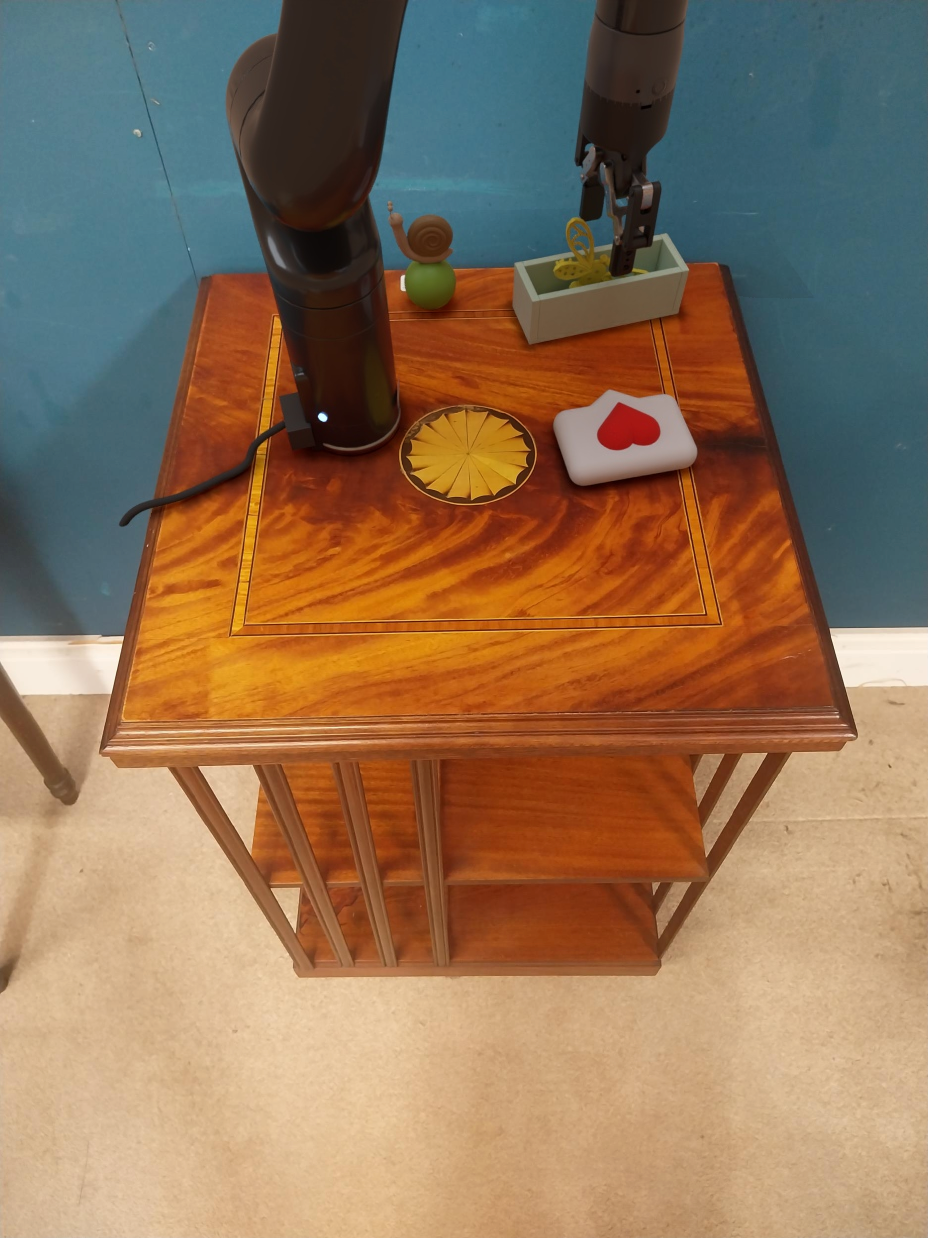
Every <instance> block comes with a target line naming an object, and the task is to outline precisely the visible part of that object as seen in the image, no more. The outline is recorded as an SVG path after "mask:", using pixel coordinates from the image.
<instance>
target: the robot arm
mask: <svg viewBox="0 0 928 1238" xmlns="http://www.w3.org/2000/svg"><path fill="white" fill-rule="evenodd" d="M409 1H410V0H281V9H280V15H279V23H278V27H277V32H274V33H270V34H268V35H265V36H262V37H261V38H259V39H257V40H255V41H254V42H252V43H251V44H250V45H249V46H248V47H246V49H245V50H244V51H243V52H242V53H241V54H240V55H239V57H238V59H237V60H236V62H235V63H234V65H233V67H232V69H231V71H230V73H229V77H228V79H227V84H226V89H225V99H224V100H225V101H224V104H225V115H226V122H227V127H228V131H229V135H230V139H231V143H232V147H233V151H234V155H235V159H236V163H237V166H238V170H239V174H240V178H241V181H242V185H243V189H244V192H245V196H246V201H247V204H248V209H249V211H250V215H251V219H252V223H253V227H254V230H255V234H256V238H257V241H258V244H259V247H260V250H261V254H262V257H263V258H262V259H263V261H264V265H265V268H266V271H267V275H268V279H269V282H270V285H271V289H272V293H273V294H272V295H273V297H274V302H275V305H276V310H277V313H278V318H279V322H280V327H281V329H282V333H283V339H284V342H285V346H286V350H287V354H288V357H289V358H288V359H289V363H290V367H291V370H292V375H293V378H294V383H295V387H296V391H297V392H296V391H295V392H292V393H291V392H290V393H286V394H282V395H279V396H278V400H279V404H280V408H281V412H282V417H283V420H281V421H280V422H278V423H276V424H275V425H273V426H271V427H270V428H268V429H266V430H264V431H263V432H262V433H261V434H259V435H257V437H256V438H255V439H253V440H252V442H251V443H250V444H249V447H248V448H247V451H246V456H245V458H244V460H243V461H242V462H240V464H238V465H237V466H235V467H233V468H231V469H229V470H227V471H224V472H222V473H219V474H217V475H215V476H213V477H211V478H209V479H207V480H205V481H203V482H200V483H198V484H196V485H194V486H192V487H190V488H187V489H185V490H183V491H180V492H178V493H175V494H171V495H167V496H163V497H157V498H154V499H149V500H147V501H144V502H141V503H138V504H135V506H132V507H131V508H130V509H129V510H128V511H126V512H125V514H123V516H122V518H121V519H120V521H119V523H118V526H119V527H121V528H123V527H126V526H128V525H129V524H130V523H131V521H132V520H133V519H134V518H135V517H137V515H139V514H141V513H142V512H145V511H148V510H151V509H154V508H158V507H162V506H167V505H171V504H175V503H178V502H181V501H184V500H186V499H189V498H191V497H194V496H196V495H198V494H200V493H202V492H204V491H207V490H209V489H212V488H213V487H214V486H217V485H219V484H221V483H223V482H225V481H227V480H230V479H233V478H235V477H236V476H239V475H241V474H242V473H244V472H245V471H246V470H247V469H248V468H249V467H250V466H251V465H252V463H253V462H254V459H255V456H256V453H257V450H258V448H259V447H260V446H261V445H262V444H263V443H264V442H265V441H267V440H269V439H270V438H271V437H273V436H275V435H277V434H278V433H281V431H283V430H286V434H287V438H288V441H289V444H290V449H291V451H296V450H302V449H306V448H311V450H312V451H314V452H319V451H326V452H329V453H332V454H336V455H341V456H342V455H343V456H358V455H364V454H367V453H371V452H373V451H375V450H378V449H379V448H381V447H384V445H386V444H387V443H388V442H390V440H391V439H392V438H393V437H395V435H396V434H397V432H398V430H399V428H400V425H401V421H402V410H401V403H400V379H399V376H397V373H396V366H395V356H394V346H393V338H392V329H391V328H392V327H391V319H390V312H389V311H390V310H389V303H388V301H389V300H388V293H387V283H386V274H385V266H384V257H383V256H384V255H383V247H382V240H381V236H380V231H379V229H378V225H377V222H376V217H375V214H374V210H373V206H372V202H371V199H370V193H371V192H372V189H373V188H374V185H375V183H376V180H377V177H378V175H379V172H380V168H381V167H380V166H381V162H382V157H383V152H384V145H385V140H386V132H387V127H388V117H389V112H390V103H391V96H392V91H393V85H394V79H395V78H394V77H395V73H396V72H395V71H396V65H397V60H398V59H397V58H398V53H399V47H400V43H401V36H402V32H403V26H404V22H405V17H406V12H407V9H408V5H409ZM689 1H690V0H595V6H594V14H593V19H592V23H591V28H590V31H589V36H588V42H587V48H586V49H587V50H586V58H585V70H584V77H583V86H582V87H583V89H582V90H583V91H582V95H581V96H582V97H581V107H580V114H579V120H578V128H577V136H576V145H575V150H574V158H573V159H574V164H575V166H576V167H577V168H578V167H581V170H580V172H579V179H580V180H579V181H580V182H581V184H582V187H581V195H580V204H579V213H578V217H579V218H581V219H583V220H584V221H585V222H586V223H588V222H591V221H592V222H593V221H598V220H599V219H601V217H602V216H603V213H604V212H603V211H604V204H605V209H606V210H605V211H606V215H607V217H608V218H610V219H611V220H612V230H613V240H612V244H613V245H612V251H611V258H610V264H609V272H610V274H611V276H613V277H617V276H622V275H627V274H629V273H631V272H632V270H633V265H634V260H635V255H636V250H637V249H640V248H647V247H651V246H652V243H653V237H654V236H655V231H656V227H657V225H656V224H657V221H658V220H657V219H658V214H659V208H660V202H661V197H662V188H663V187H662V183H661V181H659V180H656V181H650V180H649V179H648V178H647V174H648V165H647V163H648V162H647V161H648V154H649V152H650V151H651V150H652V148H654V147H655V146H656V145H657V144H658V143H660V141H662V139H663V138H664V137H665V135H666V133H667V129H668V125H669V119H670V115H671V110H672V105H673V100H674V96H675V95H674V94H675V90H676V85H677V80H678V76H679V70H680V65H681V61H682V60H681V59H682V54H683V49H684V39H685V26H686V18H687V13H688V7H689ZM590 144H592V145H591V146H590V148H589V149H588V150H586V147H587V146H588V145H590ZM623 199H625V201H626V203H627V205H622V206H619V205H618V204H617V201H618V200H623ZM624 216H625V219H624V223H623V217H624Z"/></svg>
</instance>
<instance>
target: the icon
mask: <svg viewBox="0 0 928 1238" xmlns="http://www.w3.org/2000/svg"><path fill="white" fill-rule="evenodd" d="M552 428H553V432H554V435H555V438H556V441H557V445H558V447H559V449H560V452H561V455H562V458H563V461H564V465H565V468H566V470H567V474H568V476H569V478H570V480H571V481H572V482H573V483H574V484H575V485H577V486H581V487H584V486H591V485H597V484H603V483H608V482H613V481H619V480H620V481H621V480H626V479H632V478H637V477H642V476H643V477H644V476H648V475H653V474H659V473H666V472H672V471H677V470H683V469H687V468H689V467H691V466H692V465H693V464H694V463H695V461H696V460H697V458H698V457H697V456H698V446H697V445H696V443H695V441H694V438H693V436H692V434H691V431H690V429H689V427H688V425H687V423H686V420H685V418H684V416H683V414H682V411H681V409H680V407H679V404H678V402H677V400H676V399H675V397H673V396H672V395H670V394H666V393H661V394H655V395H648V396H642V397H635V396H633V395H629V394H626V393H623V392H619V391H617V390H613V389H607V390H606V391H605V392H604V393H602V395H600V396H599V397H598V398H597V399H596V400H594V402H592V404H590V405H588V406H582V407H577V408H571V409H565V410H562V411H560V412H558V413H557V414H556V416H555V418H554V420H553V424H552Z"/></svg>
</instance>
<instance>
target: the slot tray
mask: <svg viewBox="0 0 928 1238" xmlns="http://www.w3.org/2000/svg"><path fill="white" fill-rule="evenodd" d="M612 245H613V243H610V244H604V245H599V246H594V260H600V256H601V255H603V254H605V255H607V256H608V258H611V251H612ZM577 251H578V252H579V253H580V254H581V255H582V256H583V257H585V258H586V254H585V251H584V250H583V249H579V250H577ZM587 251H588V254H589V248H587ZM562 258H563V259H564V260H565V262H566V261H569V258H572V261H574V262H577V261H578V260H577V258H576V257H575V255H574V254H573V252H572V251H570V252H569V251H568V252H564V253H558V254H553V255H549V256H544V257H538V258H533V259H528V260H523V261H517V262H514V264H513V265H514V267H513V288H512V309H513V311H514V313H515V315H516V317H517V320H518V323H519V324H520V327H521V330H522V331H523V333H524V335H525V338H526V340H527V342H528V345H534V344H539V343H544V342H548V341H554V340H558V339H563V338H567V337H573V336H578V335H582V334H587V333H592V332H596V331H601V330H606V329H611V328H615V327H619V326H626V325H629V324H634V323H640V322H643V321H649V320H653V319H658V318H663V317H668V316H669V317H670V316H673V315H678V314H679V312H680V307H681V303H682V300H683V296H684V292H685V290H686V289H685V288H686V284H687V280H688V277H689V273H690V269H689V267H688V265H687V263H686V262H685V261H684V259H683V257H682V256H681V254H680V252H679V251H678V249H677V247H676V245H675V244H674V242H673V241H672V239H671V237H670V236H669V234H668V233H661V234H656V235H655V234H654V237H653V243H652V246H651V247H647V248H640V249H637V250H636V255H635V260H634V265H633V268H634V269H640V270H646V271H648V272H649V273H645V274H639V275H635V276H634V273H629V274H627V275H625V276H627V277H625V278H622V277H618V276H617V277H613V276H612V278H614V279H615V280H610V281H605V282H600V283H598V282H597V283H595V284H590V285H586V286H581V287H576V288H571V289H569V286H570V284H571V283H572V282H574V281H579V278H576V279H570V280H564V279H559V278H557V277H556V276H555V274H554V271H553V269H554V267H555V266H556V263H555V262H556V261H558V262H559V261H560V260H561V259H562ZM596 272H597V270H596ZM606 272H609V266H608V267H607V266H606ZM571 274H574V273H571ZM590 278H591V277H590ZM587 279H588V278H587ZM565 289H566V290H565Z"/></svg>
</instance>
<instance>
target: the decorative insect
mask: <svg viewBox="0 0 928 1238" xmlns="http://www.w3.org/2000/svg"><path fill="white" fill-rule="evenodd" d="M576 224H577V225H580V226H581V227H582V228H583V229H584V230H585V231H586V232H585V231H584V230H581V228H579V227H577V225H576ZM572 228H573V230H575V232H577V233H576V234H574V236H572V237H571V230H572ZM565 237H566V238H565V239H566V242H567V245H568V248H569V249H570V252H573V254H574V255H575V257H576V258H577V260H578V261H577V262H574V261H572V258H569V261H566V262H565V260H564V259H563V258H562V259H561V260H560V261H559V262H558V261H556V262H555V263H556V266H555V267H554V269H553V271H554V274H555V276H556V277H557V278H559V279H564V280H570V279H576V278H579V281H574V282H572V283H571V284H570V286H569V289H571V288H576V287H581V286H586V285H590V284H595V283H597V282H598V283H600V282H605V281H610V280H615V279H614V278H612V276H611V274H610V272H606V266H607V267H608V266H609V264H610V258H608V256H607V255H605V254H603V255H601V256H600V260H594V247H595V239H594V237H593V234H592V231H591V229H590V226H589V225H588V222H585V221H584V220H583V219H581V218H580V216H575V217H572V218H570V220H569V221H568V222H567V223H566V228H565ZM579 237H585V238H587V239H588V246H589V248H587V246H586V245H585V243H584V242H582V241H580V240H579V241H578V240H577V239H578V238H579ZM575 246H580V247H581V250H584V251H585V254H586V258H585V257H583V256H582V255H581V254H580V253H579V252H578V251H579V250H577V248H576V247H575ZM587 249H589V254H588V251H587ZM596 270H597V272H596ZM571 273H574V274H571ZM631 273H634V276H635V275H639V274H645V273H649V272H648V271H646V270H640V269H634V268H633V270H632V272H631ZM590 277H591V278H590ZM618 277H622V278H625V277H627V276H625V275H622V276H618ZM587 278H588V279H587ZM565 290H566V289H565Z"/></svg>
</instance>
